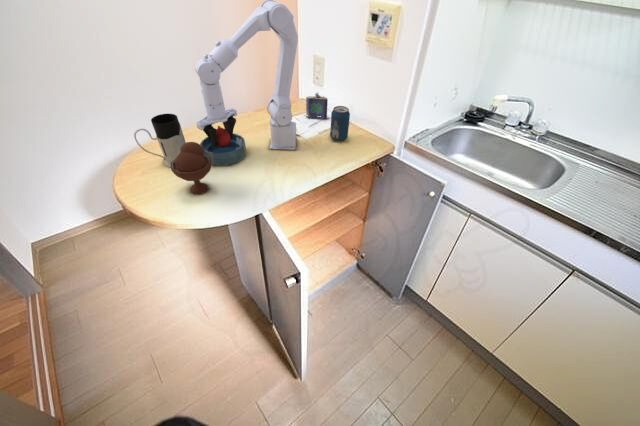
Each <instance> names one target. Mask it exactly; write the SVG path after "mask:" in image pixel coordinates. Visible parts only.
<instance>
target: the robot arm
mask: <svg viewBox="0 0 640 426" xmlns="http://www.w3.org/2000/svg"><path fill="white" fill-rule="evenodd" d="M271 30H272V31H273V32H274V34H275V35H276V37H277V38H278V39H279V46H278V57H277V64H276V73H275V81H274V87H273V88H274V89H273V92H272V94H271V95H270V100H269V101H268V103H267V107H266V111H267V113H268V114H269V115H270V119H269V128H270V139H271V142H270V145H269V149H270V150H288V151H289V150H290V151H293V150H294V151H295V150H296V148H297V142H298V137H297V122H296V121H292V120H293V113H292V102H291V98H290V94H291V89H292V82H293V75H294V67H295V61H296V54H297V48H298V42H299V36H298V35H299V34H298V31H297V29H296V25H295V21H294V15H293V13H292V12H291V11H290V9H289V8H288V7H287V6H286V4H283V3H279V2H277V1H275V0H264V1H263V2H262V3H261V5H259V6H257V7H256V8H255V9H254V10H253V12H252V13H251V14H250V15H249V16H248V18H247V19H246V20H245V21H244V22H243V23H242V24H241V26H240V27H239V28H238V29H237V30H236V31H235V32H234V33H233V34H232V35H231V37H230V38H229V39H226V38H223V39H221V40H219V39H217V40H216V41H215V42H214V45H215V46H214V47H213V48H212V49H211V50H210V51H209V52H208V53H205V54H204V55H203V58H201V59H199V60H197V62H196V65H195V73H196V74H197V76H198V77H199V84H200V86H201V87H200V90H201V94H202V99H203V103H204V106H205V112H206V116H205V117H202V118H201V120H198V121H197V122H195V124H196V128H197V129H198V130H200V131H203V132H204V133H205V135H206V137H208V138H209V139H210V141H211V143H212V145H214V146H216V147H217V146H218V142H217V137H216V131H217V129H218V128H215V127H214V125H215V124H217V123H222V125H223V129H225V130H226V131H227V132H228V133H229V134H230V137H231V139H232V137H233V133H234V129H235V125H236V123H237V118H235V117H237V116H238V113H237V112H238V111H237V109H235V108H229V109H226V107H225V102H224V96H223V91H222V87H221V85H220V84H221V83H220V80H221V74H222V73H223V72H225V70H227V69H228V67H230V65H232V63H233V62H234V61H236V59H237V58H238V57H239V50H240V49H241V48H242V46H245V44H246V43H247V42H249V41H250V39H252V38H253V37H255V35H256V34H257V33H259V32H269V31H271Z"/></svg>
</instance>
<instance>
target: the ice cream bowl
mask: <svg viewBox="0 0 640 426" xmlns="http://www.w3.org/2000/svg"><path fill="white" fill-rule="evenodd" d="M180 150H181V153H179V155H178V156H177V157H176V159H175V160H173V161H172V162H171V167H170V170H171V171H172V173H173V175H175V176H176V177H177V178H179V179H182V180H183V181H187V182H193V183H194V184H192V185H191V186H190V187H189V193H190V194H192V195H193V196H198V195H203V194H206V193H207V191H208V190H209V185H208V184H207V183H206V182H205V183H204V182H201V180H203V179H204V178H205V177H206V176H207V175H208V174H209V173H210V172H211V169H212V164H211V159H210V156H208V155H205V154H204V151H205V150H204V149H203V148H202V146H201V145H200V143H198V142H195V141H187V142H186V143H185V144H184V145H182V147H181V148H180Z"/></svg>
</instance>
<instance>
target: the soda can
mask: <svg viewBox="0 0 640 426" xmlns="http://www.w3.org/2000/svg"><path fill="white" fill-rule="evenodd" d="M350 117H351V113H350V109H349V108H348V107H347V106H345V105H337V106H334V107H333V109H332V111H331V114H330V129H329V131H330V132H329V136H330V139H331V141H333V142H335V143H343V142H345V141H346V140H347V139H348V137H349V126H350Z"/></svg>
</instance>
